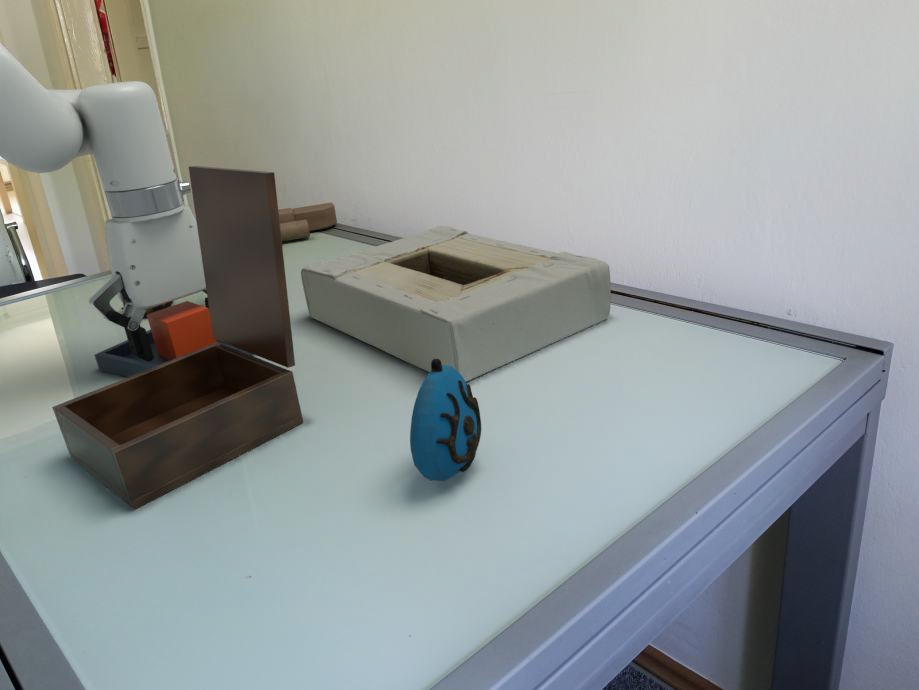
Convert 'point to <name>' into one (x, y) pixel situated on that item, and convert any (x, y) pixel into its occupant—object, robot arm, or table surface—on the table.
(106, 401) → the chest
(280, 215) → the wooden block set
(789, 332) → the table surface
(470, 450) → the ornament
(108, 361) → the tray
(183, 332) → the cube
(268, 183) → the lid
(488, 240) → the box
